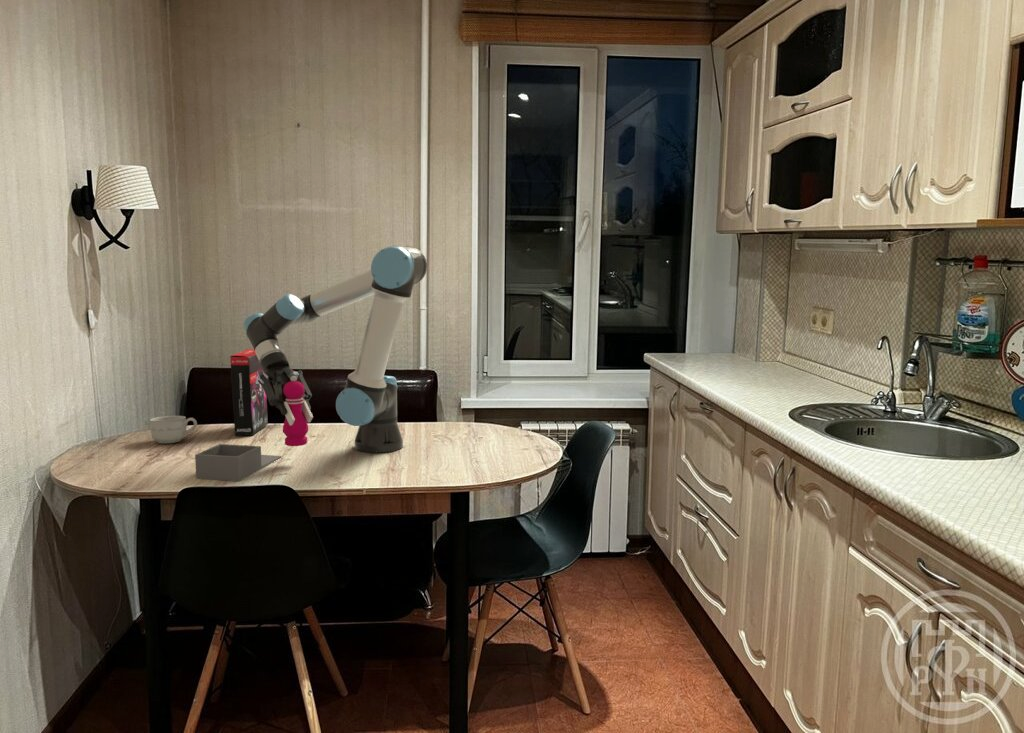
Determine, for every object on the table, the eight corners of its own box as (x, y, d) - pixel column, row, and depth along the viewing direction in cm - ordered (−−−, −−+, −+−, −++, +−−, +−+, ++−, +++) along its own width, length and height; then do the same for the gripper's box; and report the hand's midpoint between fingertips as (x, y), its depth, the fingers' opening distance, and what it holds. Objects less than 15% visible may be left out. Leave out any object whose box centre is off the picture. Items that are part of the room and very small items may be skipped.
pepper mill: (286, 447, 230) (283, 378, 228) (280, 442, 237) (277, 375, 234) (311, 444, 234) (309, 376, 231) (305, 439, 240) (302, 373, 237)
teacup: (145, 445, 254) (144, 421, 253) (158, 437, 265) (157, 413, 264) (190, 445, 255) (189, 421, 254) (201, 438, 266) (200, 414, 265)
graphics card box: (253, 436, 268) (250, 355, 265) (232, 436, 268) (229, 355, 264) (268, 425, 285) (266, 348, 281) (248, 425, 285) (246, 348, 281)
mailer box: (281, 457, 242) (281, 436, 241) (239, 481, 217) (238, 457, 217) (242, 455, 244) (241, 434, 243) (196, 478, 220) (195, 454, 219)
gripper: (295, 363, 249) (325, 424, 240) (239, 369, 237) (268, 433, 228) (303, 348, 245) (333, 409, 235) (246, 353, 233) (276, 417, 223)
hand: (301, 421), depth 232 cm, fingers closed on pepper mill, 5 cm apart
